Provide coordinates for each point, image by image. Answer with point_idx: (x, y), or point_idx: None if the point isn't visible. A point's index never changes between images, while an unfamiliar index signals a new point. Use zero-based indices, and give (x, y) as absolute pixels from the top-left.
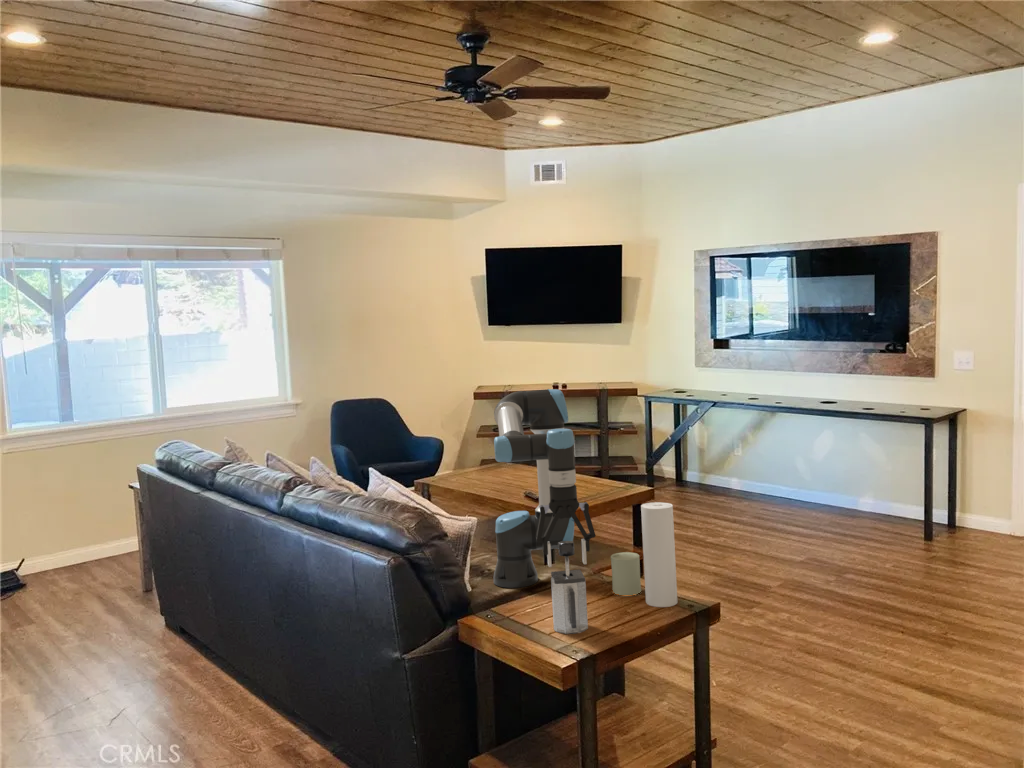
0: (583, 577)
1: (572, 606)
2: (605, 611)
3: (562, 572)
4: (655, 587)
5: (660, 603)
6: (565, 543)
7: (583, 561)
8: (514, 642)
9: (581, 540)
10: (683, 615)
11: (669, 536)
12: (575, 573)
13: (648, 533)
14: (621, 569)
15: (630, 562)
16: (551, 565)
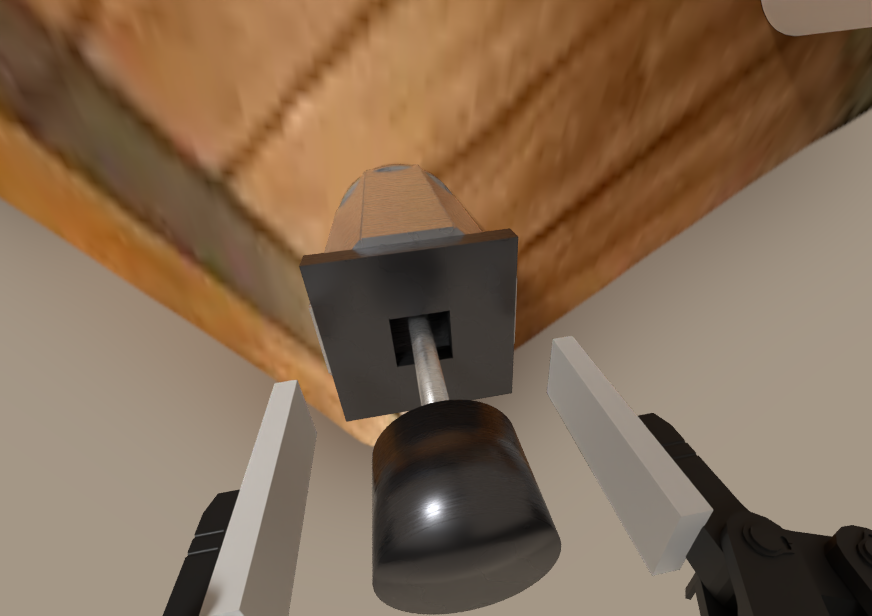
0: (505, 383)
1: None
2: (557, 49)
3: (387, 290)
4: (867, 9)
5: (797, 31)
6: (460, 586)
7: (554, 389)
8: (220, 335)
9: (666, 507)
10: (789, 151)
11: None
12: (472, 318)
13: None
14: None
15: None
16: (315, 441)
